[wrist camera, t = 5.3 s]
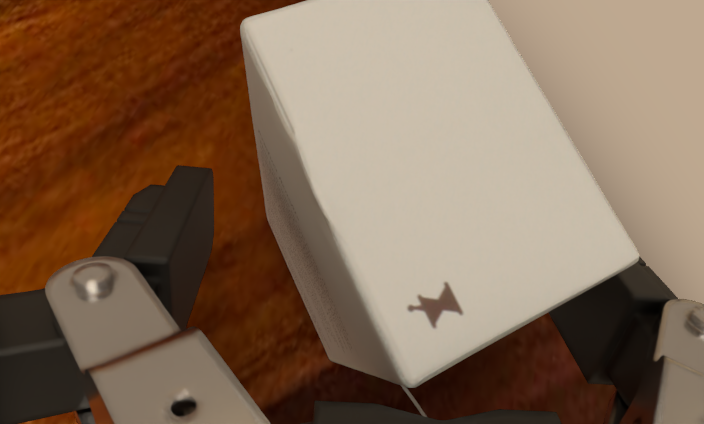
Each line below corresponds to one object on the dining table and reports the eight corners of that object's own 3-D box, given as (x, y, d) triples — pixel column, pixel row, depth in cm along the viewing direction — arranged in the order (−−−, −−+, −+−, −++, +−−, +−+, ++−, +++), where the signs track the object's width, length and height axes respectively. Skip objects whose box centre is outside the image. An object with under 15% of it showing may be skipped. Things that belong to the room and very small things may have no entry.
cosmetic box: (431, 312, 19) (659, 270, 7) (328, 363, 18) (404, 406, 6) (362, 170, 20) (466, -61, 8) (262, 212, 19) (223, 17, 7)
